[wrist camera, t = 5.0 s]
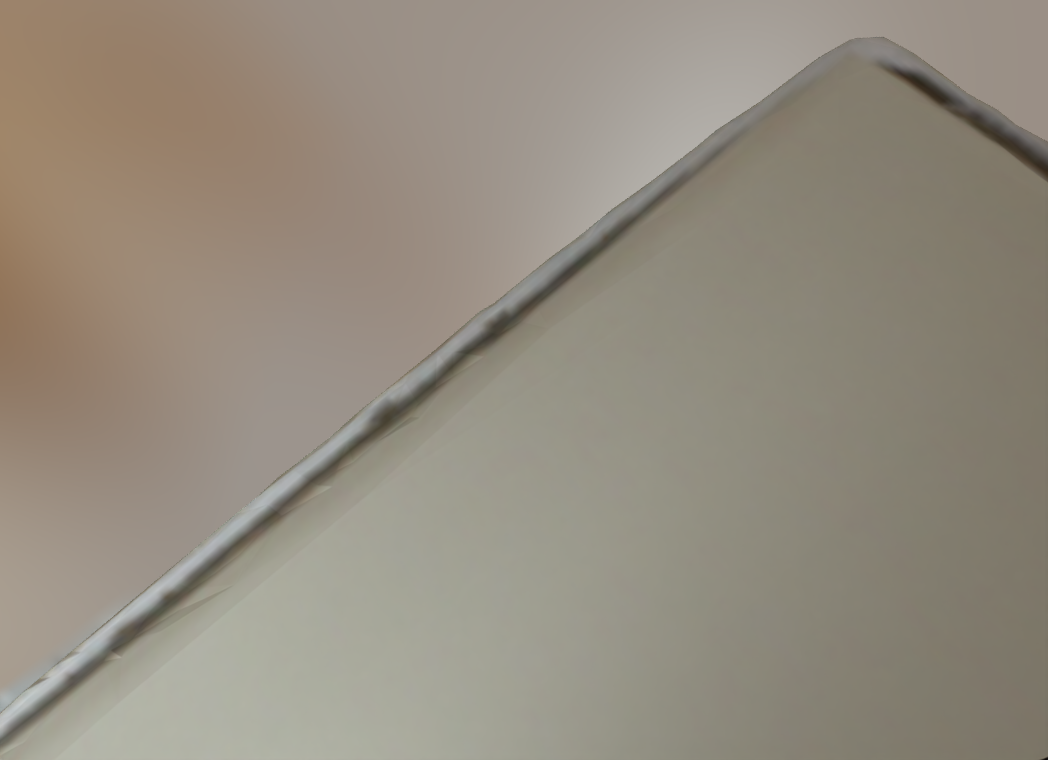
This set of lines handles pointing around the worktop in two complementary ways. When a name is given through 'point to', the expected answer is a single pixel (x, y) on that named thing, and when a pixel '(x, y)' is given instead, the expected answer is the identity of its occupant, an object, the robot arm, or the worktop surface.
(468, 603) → the skincare box
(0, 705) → the worktop surface
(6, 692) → the worktop surface
